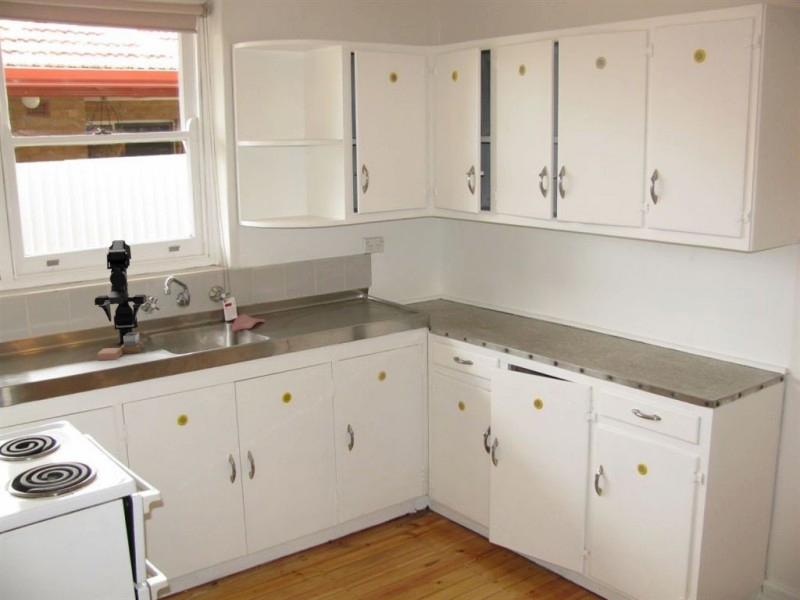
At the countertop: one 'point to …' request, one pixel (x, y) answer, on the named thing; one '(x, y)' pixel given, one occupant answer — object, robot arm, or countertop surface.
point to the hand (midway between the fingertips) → (122, 321)
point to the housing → (131, 339)
